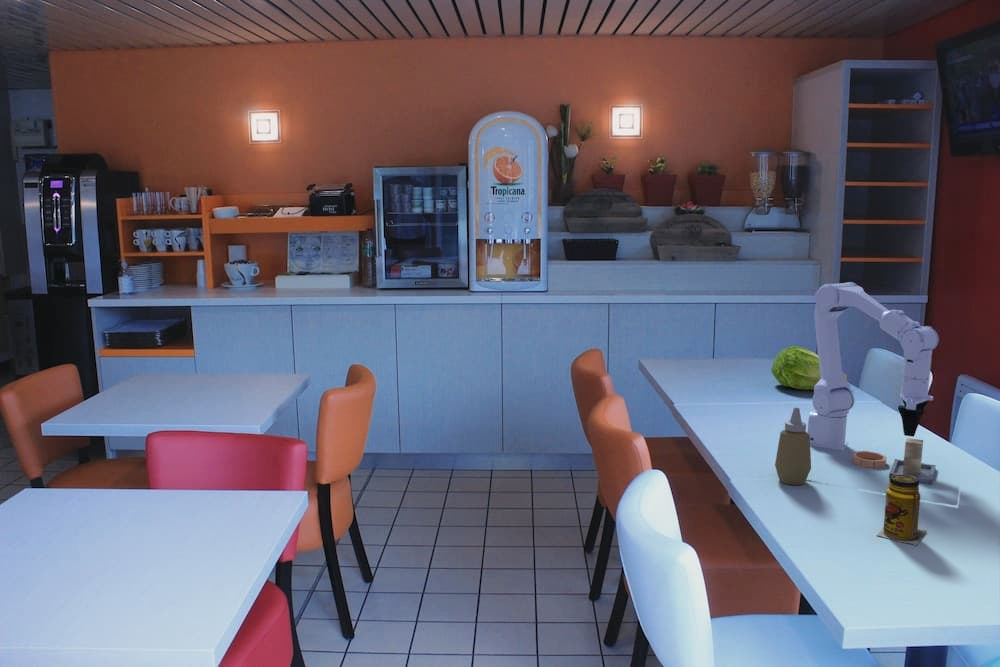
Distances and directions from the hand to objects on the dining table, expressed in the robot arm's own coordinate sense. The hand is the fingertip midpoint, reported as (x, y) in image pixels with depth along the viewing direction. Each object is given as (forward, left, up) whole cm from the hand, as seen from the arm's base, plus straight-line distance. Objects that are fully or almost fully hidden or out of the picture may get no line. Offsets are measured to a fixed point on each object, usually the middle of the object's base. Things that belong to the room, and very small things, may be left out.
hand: (910, 431), depth 193 cm
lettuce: (-37, +76, -11) cm, 85 cm away
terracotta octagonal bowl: (-9, +1, -10) cm, 14 cm away
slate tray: (+1, -2, -10) cm, 10 cm away
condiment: (+3, -40, -11) cm, 42 cm away
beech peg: (+1, -2, -10) cm, 10 cm away
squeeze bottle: (-23, -21, -11) cm, 33 cm away
